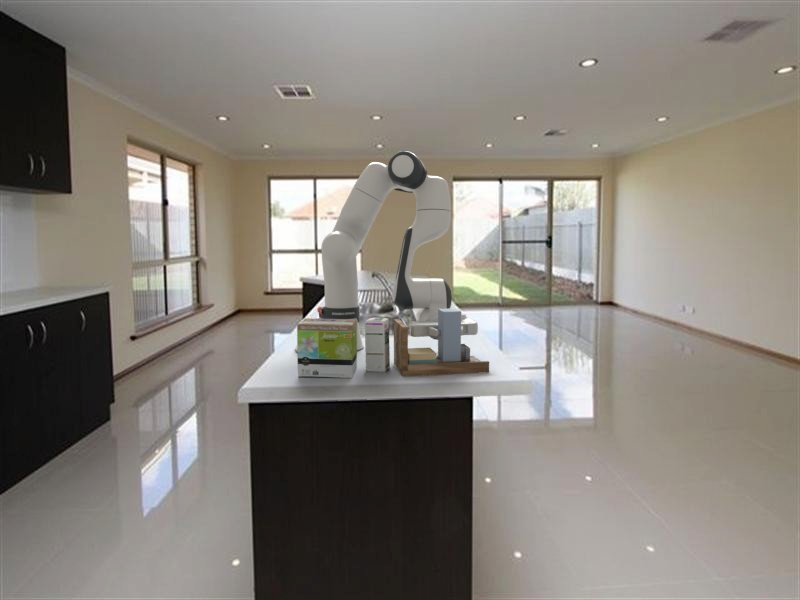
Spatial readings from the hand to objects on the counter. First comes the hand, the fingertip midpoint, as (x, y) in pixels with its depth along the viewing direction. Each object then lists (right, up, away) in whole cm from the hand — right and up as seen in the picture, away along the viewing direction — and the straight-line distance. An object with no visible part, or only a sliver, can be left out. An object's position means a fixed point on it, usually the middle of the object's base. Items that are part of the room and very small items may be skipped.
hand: (449, 333), depth 151 cm
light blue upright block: (0, -7, +1) cm, 8 cm away
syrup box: (-20, -11, +2) cm, 23 cm away
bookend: (+7, -9, +3) cm, 11 cm away
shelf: (-2, -10, +3) cm, 11 cm away
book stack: (-8, -9, +1) cm, 12 cm away
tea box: (-34, -11, -3) cm, 36 cm away
